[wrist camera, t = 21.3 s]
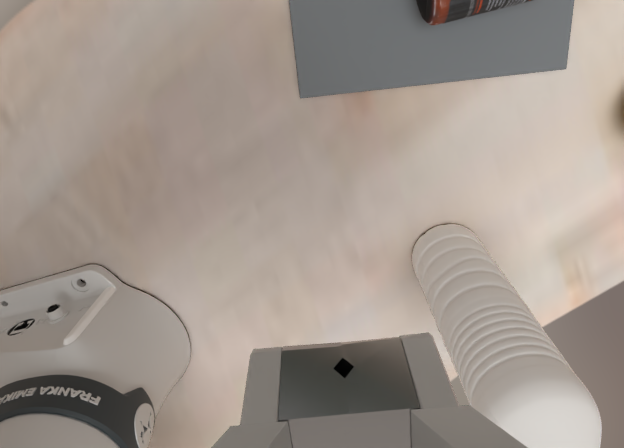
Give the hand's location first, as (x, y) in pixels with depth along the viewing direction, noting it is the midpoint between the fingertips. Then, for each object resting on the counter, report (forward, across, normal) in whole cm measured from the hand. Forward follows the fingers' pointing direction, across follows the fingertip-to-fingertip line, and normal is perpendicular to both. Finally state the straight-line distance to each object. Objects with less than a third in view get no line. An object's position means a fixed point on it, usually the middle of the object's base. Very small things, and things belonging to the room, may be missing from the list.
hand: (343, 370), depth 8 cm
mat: (+33, -9, -6) cm, 35 cm away
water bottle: (+33, -10, +18) cm, 39 cm away
